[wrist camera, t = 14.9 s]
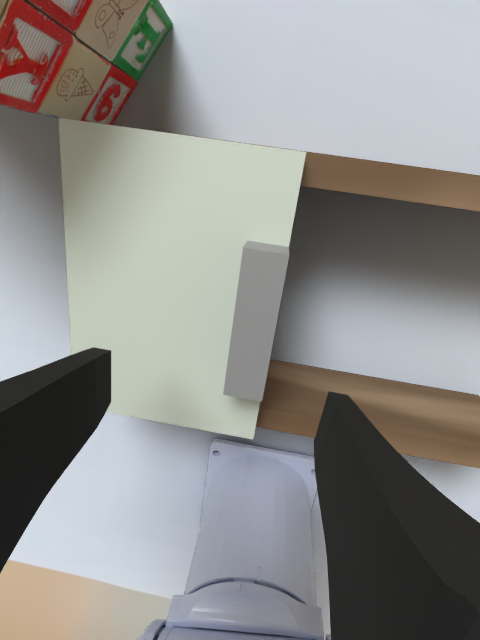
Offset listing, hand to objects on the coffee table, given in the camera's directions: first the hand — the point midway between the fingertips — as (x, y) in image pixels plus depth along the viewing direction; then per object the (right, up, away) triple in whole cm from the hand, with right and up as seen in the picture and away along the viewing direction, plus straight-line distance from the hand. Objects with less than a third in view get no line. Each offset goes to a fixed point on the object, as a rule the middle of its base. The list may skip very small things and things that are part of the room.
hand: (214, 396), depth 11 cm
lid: (-2, +4, +4) cm, 6 cm away
